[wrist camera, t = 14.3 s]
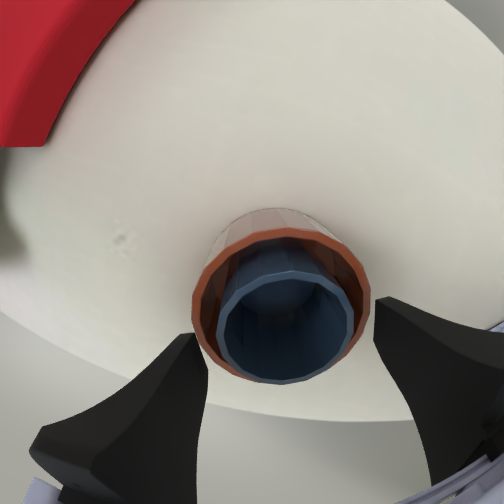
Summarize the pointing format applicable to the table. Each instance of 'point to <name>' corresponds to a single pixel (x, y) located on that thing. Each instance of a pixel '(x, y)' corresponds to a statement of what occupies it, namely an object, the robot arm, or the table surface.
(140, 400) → the robot arm
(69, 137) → the table surface
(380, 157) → the table surface
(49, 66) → the red flat box
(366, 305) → the terracotta tumbler
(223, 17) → the table surface
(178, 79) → the table surface
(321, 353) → the blue cup
